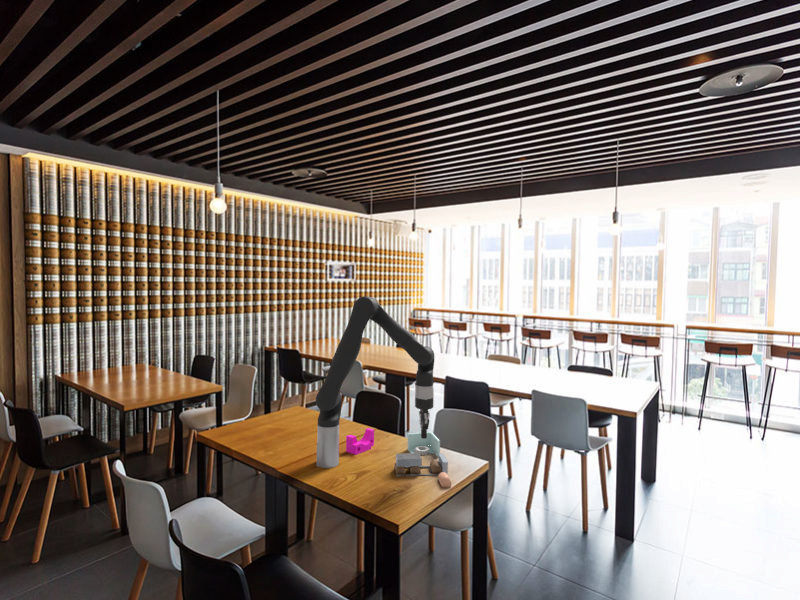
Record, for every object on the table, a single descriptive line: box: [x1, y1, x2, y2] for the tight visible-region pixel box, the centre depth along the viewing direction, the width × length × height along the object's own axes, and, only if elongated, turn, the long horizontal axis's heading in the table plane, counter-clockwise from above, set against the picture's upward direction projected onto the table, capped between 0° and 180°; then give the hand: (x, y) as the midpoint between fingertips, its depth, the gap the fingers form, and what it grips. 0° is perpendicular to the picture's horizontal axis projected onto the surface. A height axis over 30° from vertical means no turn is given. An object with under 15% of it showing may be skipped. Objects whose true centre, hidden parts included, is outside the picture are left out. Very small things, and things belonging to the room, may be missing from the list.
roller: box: [437, 472, 453, 488], centre depth 169 cm, size 4×6×4 cm
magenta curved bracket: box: [345, 427, 375, 455], centre depth 205 cm, size 15×6×8 cm, turn 141°
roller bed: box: [394, 459, 442, 477], centre depth 180 cm, size 19×8×4 cm, turn 96°
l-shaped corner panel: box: [407, 431, 441, 458], centre depth 202 cm, size 12×12×8 cm
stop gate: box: [437, 453, 449, 476], centre depth 181 cm, size 2×9×6 cm, turn 6°
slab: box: [395, 452, 423, 467], centre depth 179 cm, size 10×6×3 cm, turn 96°
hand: (423, 437), depth 177 cm, fingers closed
